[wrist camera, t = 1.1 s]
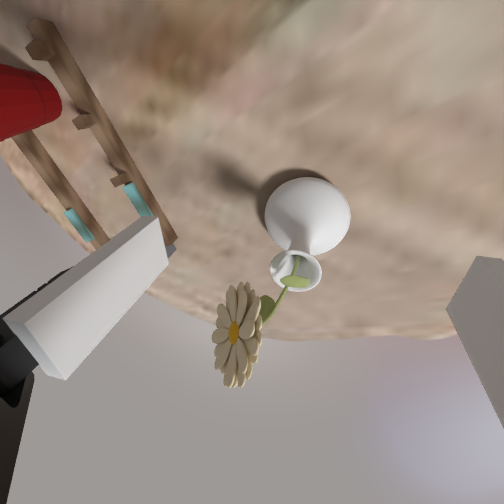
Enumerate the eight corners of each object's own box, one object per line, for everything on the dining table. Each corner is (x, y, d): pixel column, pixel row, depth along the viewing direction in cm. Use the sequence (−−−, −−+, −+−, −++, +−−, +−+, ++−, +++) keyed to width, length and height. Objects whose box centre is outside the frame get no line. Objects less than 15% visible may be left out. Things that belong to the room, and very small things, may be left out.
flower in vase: (319, 154, 32) (296, 280, 12) (366, 225, 35) (410, 419, 15) (243, 209, 39) (144, 349, 18) (287, 264, 42) (245, 434, 22)
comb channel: (-12, 83, 38) (-47, 83, 35) (52, 21, 32) (16, 14, 28) (114, 255, 51) (98, 268, 48) (178, 237, 45) (164, 251, 41)
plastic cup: (65, 53, 33) (-45, 41, 23) (86, 142, 39) (5, 162, 30) (-4, 42, 35) (-135, 26, 25) (26, 129, 41) (-70, 144, 31)
